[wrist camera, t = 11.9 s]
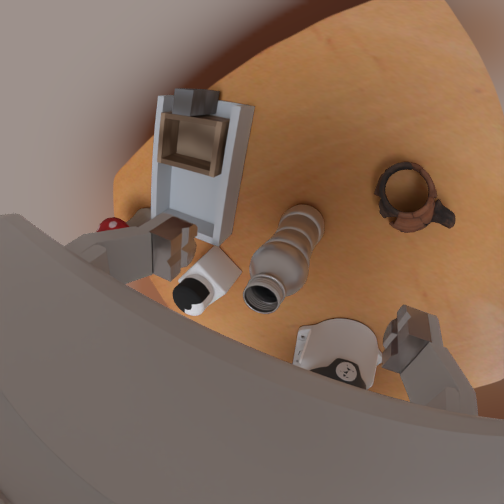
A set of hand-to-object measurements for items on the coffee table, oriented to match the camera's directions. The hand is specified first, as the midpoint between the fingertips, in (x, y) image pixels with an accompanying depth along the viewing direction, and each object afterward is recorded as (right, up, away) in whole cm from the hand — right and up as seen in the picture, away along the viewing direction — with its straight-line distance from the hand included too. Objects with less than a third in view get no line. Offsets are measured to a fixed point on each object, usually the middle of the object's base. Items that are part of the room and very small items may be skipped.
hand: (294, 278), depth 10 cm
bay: (-9, +15, +34) cm, 39 cm away
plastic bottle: (+7, +6, +32) cm, 34 cm away
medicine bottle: (-8, -2, +44) cm, 44 cm away
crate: (-9, +20, +30) cm, 37 cm away
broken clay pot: (+21, +9, +24) cm, 33 cm away
